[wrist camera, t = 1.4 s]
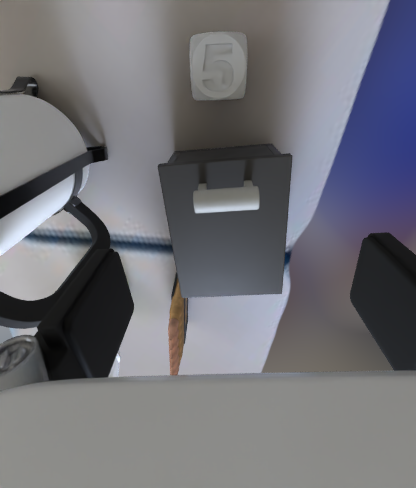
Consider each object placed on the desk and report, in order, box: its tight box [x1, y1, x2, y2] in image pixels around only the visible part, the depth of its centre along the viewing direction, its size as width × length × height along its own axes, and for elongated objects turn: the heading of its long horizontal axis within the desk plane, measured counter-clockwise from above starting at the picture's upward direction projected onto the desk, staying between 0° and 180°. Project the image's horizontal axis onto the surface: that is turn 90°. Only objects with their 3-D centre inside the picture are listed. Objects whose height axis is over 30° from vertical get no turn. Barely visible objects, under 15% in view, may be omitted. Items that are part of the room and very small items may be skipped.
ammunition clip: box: [168, 273, 188, 375], centre depth 39 cm, size 11×2×12 cm, turn 177°
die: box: [190, 31, 247, 100], centre depth 25 cm, size 5×5×5 cm
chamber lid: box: [158, 153, 292, 298], centre depth 25 cm, size 15×12×5 cm
